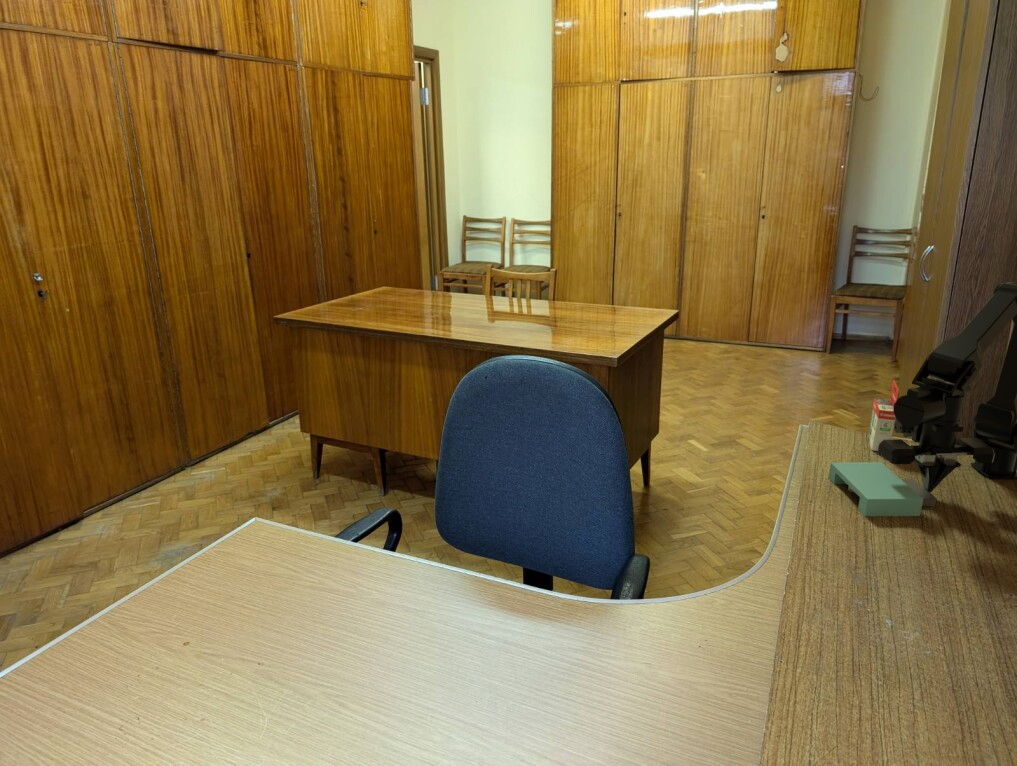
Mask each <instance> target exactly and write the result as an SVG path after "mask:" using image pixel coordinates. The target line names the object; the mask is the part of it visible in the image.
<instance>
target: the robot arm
mask: <svg viewBox="0 0 1017 766" xmlns="http://www.w3.org/2000/svg"><path fill="white" fill-rule="evenodd" d="M1011 321H1012V323H1013V326H1012V330H1011V334H1010V338H1009V341H1008V344H1007V348H1006V351H1005V355H1004V359H1003V362H1002V365H1001V369H1000V371H999V376H998V379H997V383H996V387H995V390H994V393H993V396H991V397H990V398H989V399H987V400H986V401H985V402H981V403H980V404H979V405H978V407H977V413H976V415H975V417H974V419H973V437H964V438H963V437H962V438H960V437H959V438H957V436H958V432H959V433H960V432H961V433H963V431H964V426H963V425H961V424H960V421H961V416H962V410H963V405H964V403H965V396H966V393H969V392H971V391H972V389H973V388H972V386H971V383H972V382H973V381H974V380H975V379H976V378H977V376H978V374H979V372H980V370H981V369H982V367H983V366H984V365H983V364H984V362H983V357H984V355H983V354H984V353H985V352H986V350H987V349H988V348H989V346H990V345H991V344H993V342H994V341H995V340H996V338H997V337H998V336H999V335H1000V334H1001V333H1002V331H1003V330H1004V329H1005V328H1006V327H1007V325H1009V324H1010V322H1011ZM929 377H930V378H929ZM911 385H913V386H917V387H910V388H908V389H907V391H906V392H907V393H906V394H905V395H902V396H899V398H898V399H897V401H896V402H895V403H894V407H893V411H894V415H895V423H894V428H893V431H894V433H896V434H902V435H903V438H908V437H909V438H911V441H913V442H914V443H918V445H910V444H908V443H907V442H906V441H904V440H903V439H891V440H883V441H881V442H880V444H879V447H878V451H877V453H878V454H879V455H881V457H882V458H884V459H885V460H887V461H888V462H889V463H890V464H893V465H897V466H898V465H911V464H912V463H914V462H915V463H916V464H917V467H918V469H919V473H920V477H921V481H922V484H923V485H922V486H923V487H924V488H925V489H926V490H927V491H929V492H930V493H931V494H932V492H933V491H934V490H935V489H936V488H937V487H938V486H939V484H941V482H942V481H943V480H944V479H945V478H946V477H948V475H949V474H950V473H952V472H953V471H954V470H955V469H956V468H960V467H961V466H962V464H961V463H960V462H959V461H958V456H972V459H973V460H974V462H971V463H970V467H971V466H972V468H974V469H976V470H977V471H978V472H980V473H981V474H983V475H984V476H986V477H987V478H988V479H1017V282H1008V281H1006V282H1004V283H1003V282H1002V283H999V284H998V285H997V286H996V287H995V289H994V291H993V295H992V296H991V297H990V298H989V300H987V302H986V303H985V304H984V305H983V307H981V308H980V310H979V311H978V312H977V313H976V315H974V317H973V318H972V319H971V320H970V321H969V323H968V324H967V325H966V326H965V327H964V328H963V330H961V332H960V333H958V335H957V336H953V337H951V338H948V339H945V340H944V341H942V342H940V343H939V344H938V345H937V347H935V348H934V349H932V351H931V352H930V353H929V354H928V355H927V357H926V358H925V360H924V362H923V363H922V364H921V366H920V368H919V369H918V371H917V373H916V374H915V375H914V377H913V379H912V381H911Z"/></svg>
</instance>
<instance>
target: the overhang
mask: <svg viewBox="0 0 1017 766" xmlns="http://www.w3.org/2000/svg"><path fill="white" fill-rule="evenodd" d="M828 479H829V480H830V482H831V483H832V484H833V485H840V484H841V485H842V484H843V485H848V489H847V490H848V491H849V492H852V493H855V494H856V495H857V496H858V497H859V500H858V501H859V502H858V506H857V507H858V509H857V511H859V512H860V513H861V514H862V515H863V517H920V516H921V513H922V508H923V505H922V503H923V498H922V497H921V496H920V495H918V494H917V493H916V492H915V491H914V490H913V489H911V488H910V487H909V486H908V485H907V484H906V483H904V482H903V481H902V480H901V479H902V478H900V477H898V476H897V475H896V474H895V473H894V472H893V471H892V470H891V469H889V468H888V466H886V465H884V464H883V463H882V462H881V461H879V462H877V461H876V462H875V461H873V462H872V461H870V462H869V461H868V462H867V461H865V462H864V461H863V462H854V461H853V462H849V461H848V462H830V466H829V473H828Z"/></svg>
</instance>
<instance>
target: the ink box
mask: <svg viewBox="0 0 1017 766" xmlns="http://www.w3.org/2000/svg"><path fill="white" fill-rule="evenodd" d="M900 392H901V391H900V389H899V387H898V385H897V382H896V380H895V379H893V380H892V386H891V392H890V393H891V395H890V399H887V398H874V399H873V405H872V412H871V418H870V423H869V428H868V434H869V435H868V434H867V440H868V442H869V446H870V449H871V451H872V452H873V451H874V452H878V447H879V444H880V442H881V441H883V440H892V437H893V432H894V423H895V419H896V417H895V415H894V411H893V407H894V403H895V402H896V401H897V399H898V398H900Z"/></svg>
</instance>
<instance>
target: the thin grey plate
mask: <svg viewBox="0 0 1017 766" xmlns="http://www.w3.org/2000/svg"><path fill="white" fill-rule="evenodd" d="M900 479H901V480H902V481H903V482H904V483H906V484H907V485H908V486H909V487H910V488H911V489H913V490H914V491H915V492H916V493H917V494H918V495H920V496H921V497H922V498H923V503H922V506H930V507H931V506H936V503H937V499H938V498H937V497H936V496H935V495H933V494H932V492H931V493H930V492H929V491H927V490H926V489H925V488H924V485H921V483H919V482H918V481H917V480H916V479H915V478H900Z"/></svg>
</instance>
